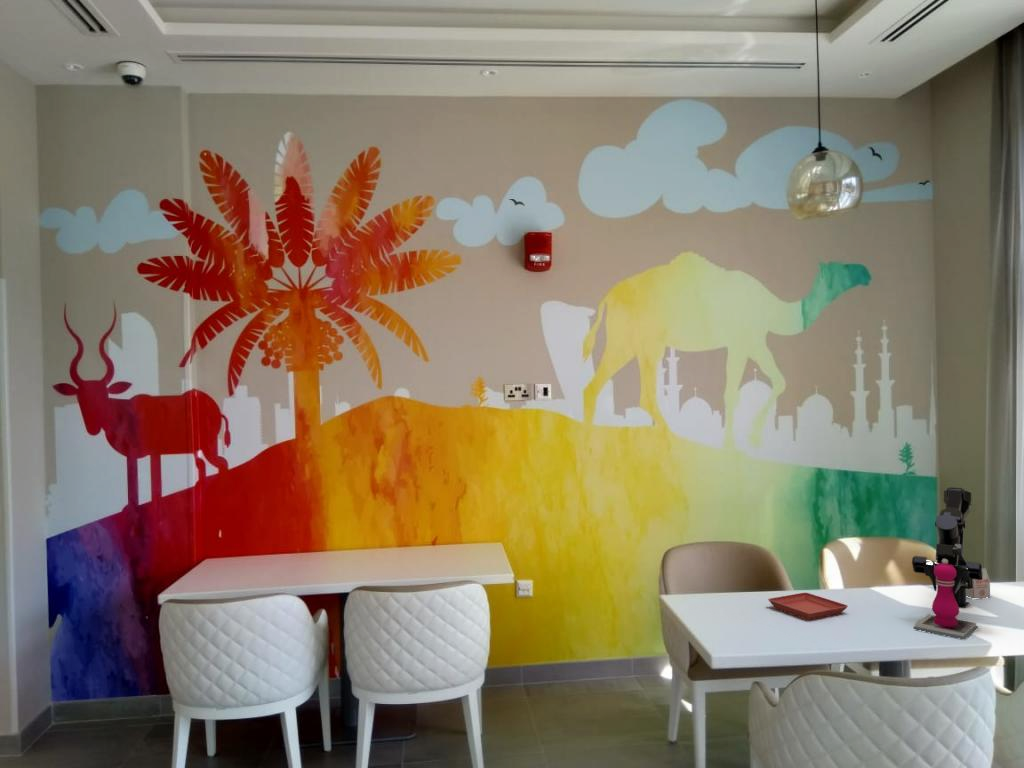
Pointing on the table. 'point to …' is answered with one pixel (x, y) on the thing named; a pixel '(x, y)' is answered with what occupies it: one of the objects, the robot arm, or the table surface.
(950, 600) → the pepper mill
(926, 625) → the silver dock
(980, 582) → the tea bag
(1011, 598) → the table surface
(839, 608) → the plant saucer
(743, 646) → the table surface
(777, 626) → the table surface
